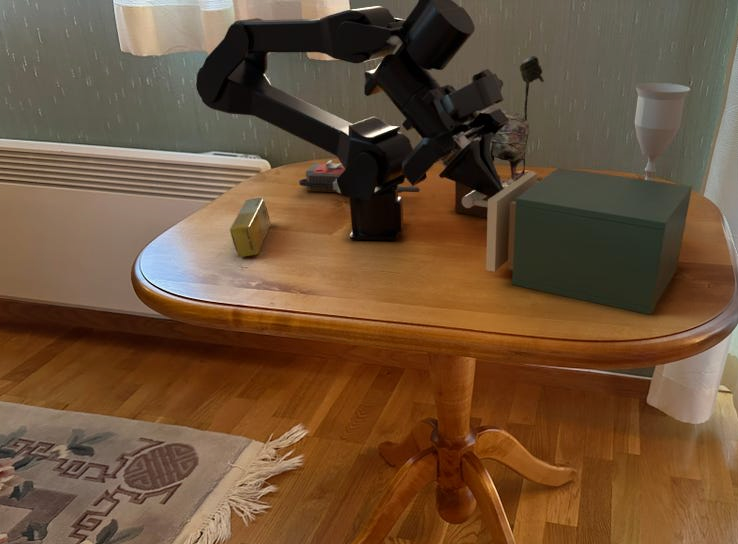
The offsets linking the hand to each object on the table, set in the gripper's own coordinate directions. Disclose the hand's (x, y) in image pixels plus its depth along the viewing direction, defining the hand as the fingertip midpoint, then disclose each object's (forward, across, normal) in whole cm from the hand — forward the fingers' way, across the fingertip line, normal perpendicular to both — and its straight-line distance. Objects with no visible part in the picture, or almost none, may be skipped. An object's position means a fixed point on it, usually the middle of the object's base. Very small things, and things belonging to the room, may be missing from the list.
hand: (502, 197), depth 83 cm
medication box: (-18, -10, +28) cm, 35 cm away
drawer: (+9, 0, +1) cm, 9 cm away
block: (-2, +15, +13) cm, 20 cm away
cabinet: (+15, 0, -3) cm, 15 cm away
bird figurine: (-2, +28, +13) cm, 30 cm away
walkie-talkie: (-18, +15, +28) cm, 36 cm away
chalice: (+15, +25, -3) cm, 29 cm away
